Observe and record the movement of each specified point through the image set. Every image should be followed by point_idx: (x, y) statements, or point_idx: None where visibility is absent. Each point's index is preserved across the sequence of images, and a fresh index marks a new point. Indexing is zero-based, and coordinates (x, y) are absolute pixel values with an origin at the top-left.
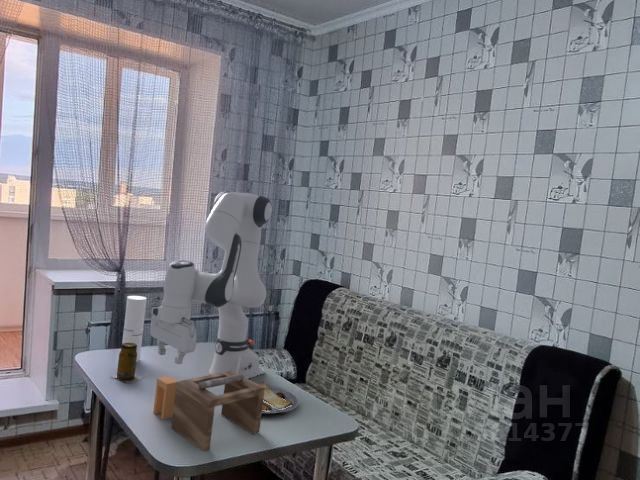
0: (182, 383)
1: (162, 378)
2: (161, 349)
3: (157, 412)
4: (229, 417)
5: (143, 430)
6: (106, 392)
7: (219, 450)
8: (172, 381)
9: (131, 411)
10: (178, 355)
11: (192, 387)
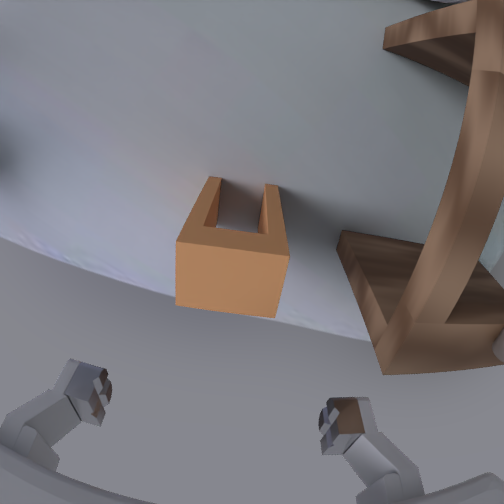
0: (416, 367)
1: (193, 290)
2: (94, 421)
3: (217, 216)
4: (430, 65)
5: (288, 306)
6: (23, 240)
7: (488, 240)
8: (263, 278)
9: (158, 263)
10: (367, 476)
11: (467, 355)
